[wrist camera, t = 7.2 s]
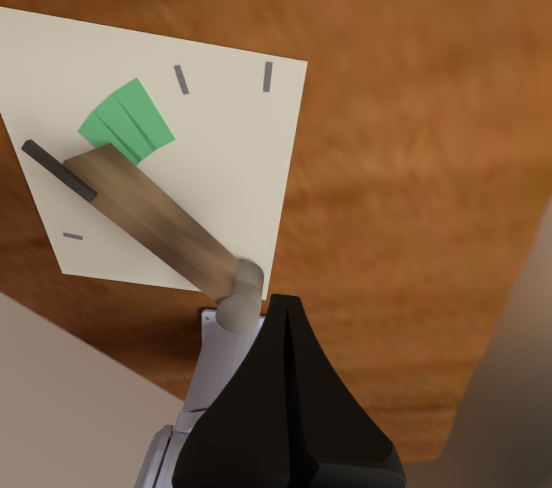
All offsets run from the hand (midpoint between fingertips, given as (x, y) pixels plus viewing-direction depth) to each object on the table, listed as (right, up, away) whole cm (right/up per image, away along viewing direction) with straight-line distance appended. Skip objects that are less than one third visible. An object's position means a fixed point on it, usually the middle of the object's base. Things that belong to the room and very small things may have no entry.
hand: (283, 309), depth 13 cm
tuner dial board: (-9, +7, +7) cm, 13 cm away
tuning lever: (-7, +5, +6) cm, 11 cm away
